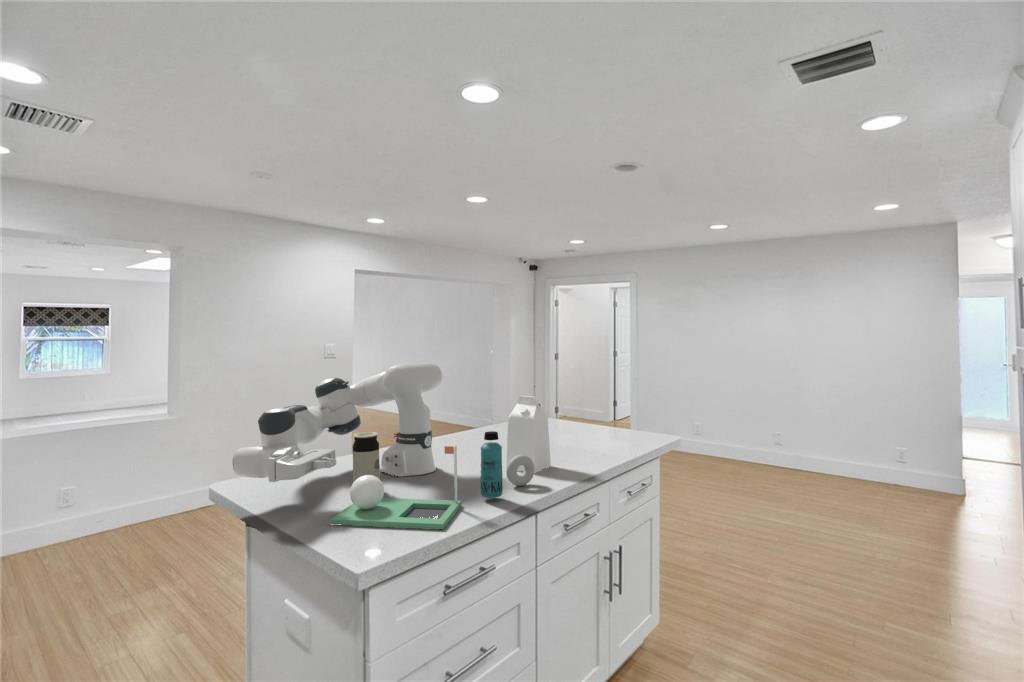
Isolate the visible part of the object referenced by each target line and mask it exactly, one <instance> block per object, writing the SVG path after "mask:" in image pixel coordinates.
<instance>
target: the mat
mask: <svg viewBox="0 0 1024 682" xmlns="http://www.w3.org/2000/svg"><path fill="white" fill-rule="evenodd" d="M457 450H458V449H457V445H453V446H451V445H449V446H448V445H447V446H446V445H445V446H444V455H447V454H449V455H453V475H454V476H453V480H454V483H453V484H454V488H453V489H454V491H453V492H454V499H453V500H452V499H451V500H449V499H424V498H423V499H422V498H420V499H419V498H395V497H393V498H392V497H391V498H389V497H383V498H382V500H381V502H380V503H379V504H378V505H377V506H375V507H373V508H371V509H360V508H358V507H357V506H355V505H354V504H353V503H352V504H350V505H349V506H347V507H346V508H345V509H343V510H342V511H340V512H339V513H337V514H336V515H335V516H333V517H331V518H330V523H331V524H341V525H352V526H351V527H361V526H370V527H369V528H383V527H391V528H390V529H406V528H426V529H425V530H428V528H429V529H442V530H441V531H444V529H445V528H446V527H447V525H449V523H450V522H449V521H452V519H453V518H454V516H455V515H456V514H457V513H458V512H459V510H460V509H459V508H461V507H462V504H463V503H462V500H458V461H457V460H458V459H457V458H458V456H457V455H458V454H457V452H458V451H457ZM456 512H457V513H456ZM437 515H438V518H437V519H436V518H435V519H433V518H434V517H435V516H437ZM433 516H434V517H433ZM420 517H421V518H420ZM422 517H423V518H422ZM429 517H430V518H429ZM452 517H453V518H452ZM451 518H452V519H451ZM448 522H449V523H448ZM371 526H373V527H371ZM445 526H446V527H445ZM392 527H394V528H392ZM444 527H445V528H444Z"/></svg>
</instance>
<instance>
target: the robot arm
mask: <svg viewBox="0 0 1024 682" xmlns="http://www.w3.org/2000/svg"><path fill="white" fill-rule="evenodd" d="M442 379H443V373H442V369H441V368H440V367H439V366H438V365H437V364H435V363H432V362H429V361H418V362H406V363H398V364H396V365H393V366H390V367H389V368H387V369H386V371H383V372H380V373H377V374H374V375H370V376H367V377H365V378H364V379H362V380H359V381H358V382H356V383H355V384H352V385H349V384H350V382H349V380H347V381H345V380H344V379H342V378H338V377H334V378H333V377H332V378H326V379H323V380H322V381H320V383H319V384H317V385H316V386H315V389H314V393H315V398H317V400H318V403H319V405H320V406H319V405H318V406H317V405H310V406H306V405H304V404H298V405H297V404H296V405H290V406H289V405H288V406H285V407H277V408H272V409H268V410H266V411H264V412H263V413H262V414H261V415H260V417H258V420H257V424H258V428H259V433H260V440H261V445H257V446H244V447H239V448H238V449H236V451H235V452H234V454H233V457H232V468H233V472H234V473H235V474H236V475H237V476H240V477H244V478H252V479H265V478H268V482H269V483H277V482H279V481H292V480H296V479H300V478H302V477H304V476H306V475H309V474H310V473H313V472H315V471H317V470H321V469H326V468H327V469H331V468H333V467H335V466H336V465H337V459H336V450H335V449H332V448H320V449H319V448H318V449H311V450H310V449H309V450H308V451H305V452H303V451H301V449H300V448H299V444H303V445H304V444H309V443H312V442H313V441H315V440H317V438H319V437H320V435H321V434H322V433H323V432H324V430H326V429H327V433H333V434H334V435H339V436H344V435H348V434H351V433H353V432H355V431H356V430H357V429H358V428H360V426H361V423H362V422H361V417H360V414H359V413H358V410H357V407H360V408H365V407H373V406H379V405H381V404H384V403H388V402H391V401H395V403H396V405H397V406H396V407H397V411H398V423H399V424H398V426H399V428H398V429H399V431H398V432H397V433H393V435H394V436H393V438H396V439H395V442H394V443H393V444H392V445H390V446H389V448H387V449H386V450H385V451H384V452H383V453H382V455H381V463H379V470H380V471H381V472H380V473H382V472H385V473H384V474H386V473H388V474H387V475H390V474H391V475H390V476H394V475H395V476H394V477H397V476H398V478H401V477H407V476H409V477H410V476H420V475H426V474H430V473H432V472H434V471H436V469H437V467H436V465H435V461H434V455H433V448H432V443H433V433H432V430H431V429H432V428H431V409H430V407H429V406H428V405H426V404H425V403H424V400H423V397H422V393H423V394H424V393H426V392H429V391H431V390H434V389H435V388H437V387H438V386H439V385H440V384H441V382H442Z"/></svg>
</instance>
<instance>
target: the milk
mask: <svg viewBox="0 0 1024 682" xmlns="http://www.w3.org/2000/svg"><path fill="white" fill-rule="evenodd" d="M507 420H508V421H507V439H506V440H507V443H506V470H507V465H508V463H509V462H510V460H511V459H512V458H514V457H515V456H517V455H526V456H528V457H530V458H531V459H532V461H533V463H534V467H535V471H534V473H536V472H538V471H540V470H542V469H544V468H546V467H548V466H550V467H552V463H551V462H552V461H551V451H550V434H549V421H548V420H549V418H548V415H547V413H546V412H545V410H544V409H543V408H542V407H541V406H540V405H539V401H538V400H537V397H536V396H534V395H533V396H531V395H519V398H518V400H517V403H516V405H515V406H514V408H513V409H512V411H511V412H510V413H509V416H508V418H507ZM548 468H549V467H548ZM546 469H547V468H546ZM517 470H519V471H518V472H520V471H524V466H523V465H521V466H519V467H518V469H517ZM544 470H545V469H544ZM542 471H543V470H542ZM540 472H541V471H540ZM538 473H539V472H538ZM536 474H537V473H536Z"/></svg>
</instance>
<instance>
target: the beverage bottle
mask: <svg viewBox="0 0 1024 682" xmlns="http://www.w3.org/2000/svg"><path fill="white" fill-rule="evenodd" d="M483 439H484V440H485V441H489V442H484V443H483V444H482V445H481V446H480V471H479V472H480V495H481V497H482V498H485V499H495V498H499V497H501V496H502V495H503V492H504V491H503V489H504V485H503V481H504V480H503V477H504V476H503V452H502V451H503V446H502V445H501V444H500V443H499V442H496V441H497V440H499V433H498V431H491V430H490V431H485V432H484V437H483ZM492 441H493V442H492Z"/></svg>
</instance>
